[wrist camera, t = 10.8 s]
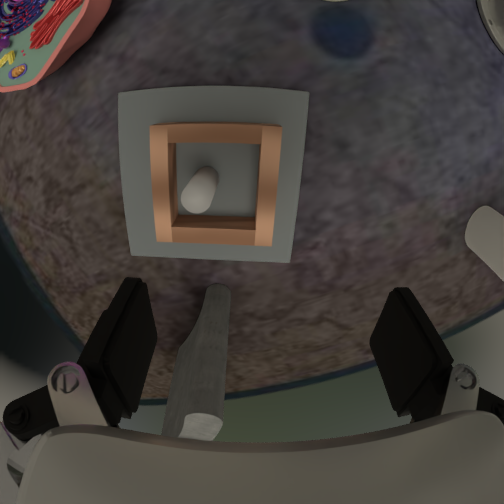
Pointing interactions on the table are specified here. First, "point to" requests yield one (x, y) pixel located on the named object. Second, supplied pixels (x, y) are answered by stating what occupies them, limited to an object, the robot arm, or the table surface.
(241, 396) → the table surface
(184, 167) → the stand
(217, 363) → the hip flask
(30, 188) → the table surface
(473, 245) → the cylindrical container
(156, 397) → the table surface
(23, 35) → the cell model
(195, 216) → the ring
